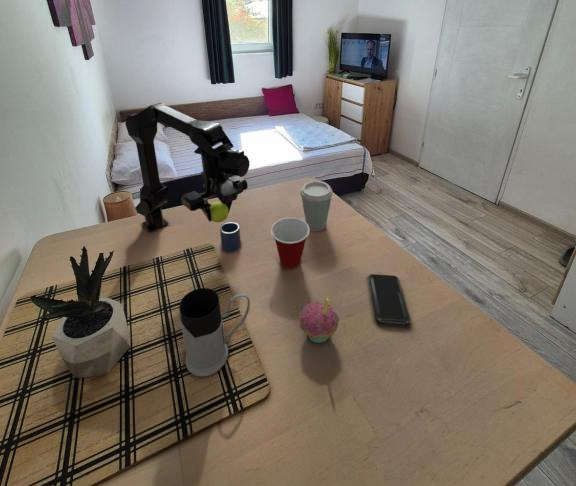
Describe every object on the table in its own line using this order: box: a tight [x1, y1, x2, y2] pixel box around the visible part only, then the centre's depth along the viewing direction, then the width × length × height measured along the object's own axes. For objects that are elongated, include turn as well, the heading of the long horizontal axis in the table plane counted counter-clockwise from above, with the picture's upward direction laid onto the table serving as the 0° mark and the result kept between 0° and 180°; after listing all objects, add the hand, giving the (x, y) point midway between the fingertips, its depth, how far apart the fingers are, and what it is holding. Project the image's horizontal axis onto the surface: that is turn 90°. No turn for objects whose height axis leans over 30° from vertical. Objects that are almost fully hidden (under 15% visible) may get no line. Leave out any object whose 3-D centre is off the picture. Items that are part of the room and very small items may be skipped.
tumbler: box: [219, 221, 242, 253], centre depth 100 cm, size 6×6×7 cm
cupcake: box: [298, 296, 340, 344], centre depth 71 cm, size 9×8×12 cm
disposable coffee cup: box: [299, 180, 334, 232], centre depth 108 cm, size 11×11×15 cm
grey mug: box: [178, 287, 251, 377], centre depth 66 cm, size 9×14×15 cm, turn 113°
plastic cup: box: [270, 216, 311, 270], centre depth 92 cm, size 11×11×12 cm
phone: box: [368, 273, 411, 327], centre depth 82 cm, size 8×1×15 cm
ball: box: [210, 201, 230, 223], centre depth 95 cm, size 6×6×6 cm
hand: (218, 217), depth 96 cm, fingers closed on ball, 6 cm apart
